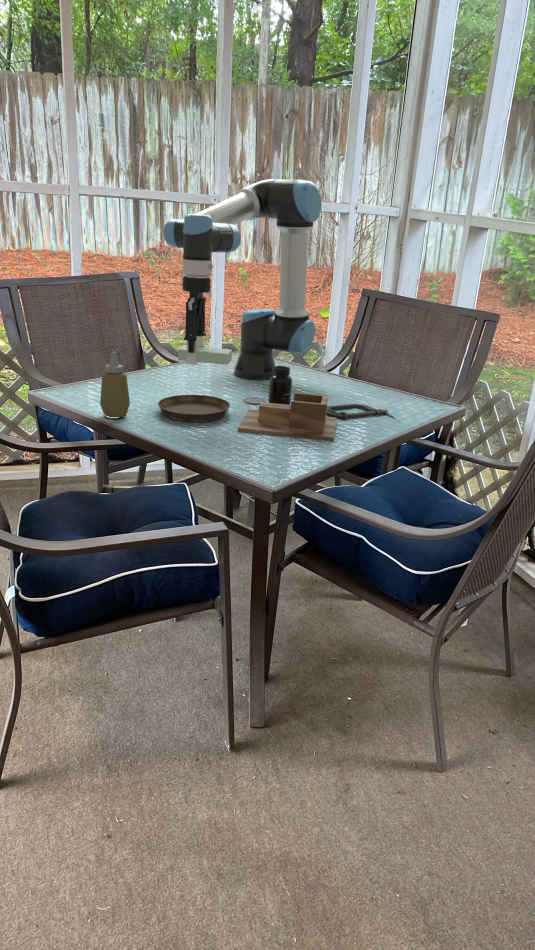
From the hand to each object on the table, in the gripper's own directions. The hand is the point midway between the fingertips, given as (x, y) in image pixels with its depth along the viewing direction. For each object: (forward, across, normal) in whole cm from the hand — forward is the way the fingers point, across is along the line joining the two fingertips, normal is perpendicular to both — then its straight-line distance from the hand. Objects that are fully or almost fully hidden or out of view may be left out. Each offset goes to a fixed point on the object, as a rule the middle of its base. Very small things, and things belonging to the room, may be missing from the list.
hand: (194, 361), depth 186 cm
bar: (-1, 0, -3) cm, 3 cm away
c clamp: (+16, +15, -47) cm, 52 cm away
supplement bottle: (+15, +16, -23) cm, 32 cm away
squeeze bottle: (+16, -10, +20) cm, 27 cm away
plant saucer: (+16, 0, 0) cm, 16 cm away
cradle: (+15, -3, -28) cm, 32 cm away
